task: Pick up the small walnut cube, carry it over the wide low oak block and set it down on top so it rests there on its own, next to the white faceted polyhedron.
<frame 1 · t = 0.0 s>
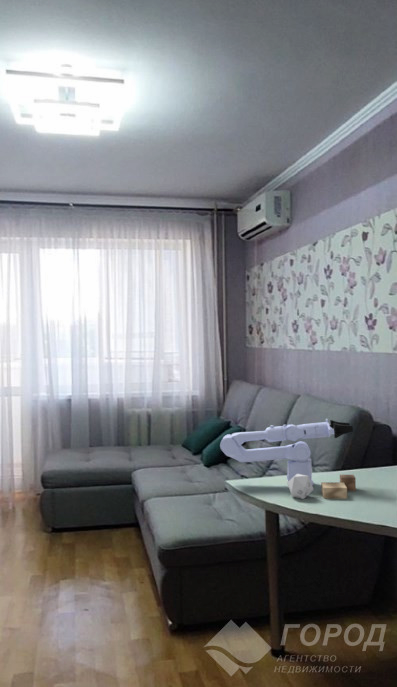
hand: (351, 427, 219), 22 cm above the table, tool horizontal, fingers open, 7 cm apart
walnut cube: (347, 489, 210), on the table
oak block: (334, 496, 202), on the table
white faceted polyhedron: (300, 497, 201), on the table
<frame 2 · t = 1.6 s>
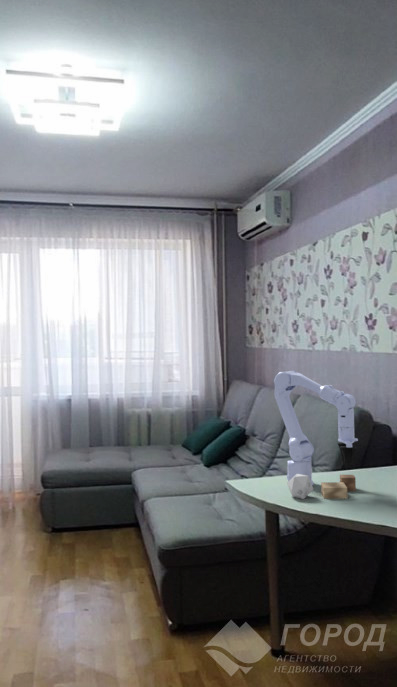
hand: (347, 463, 211), 9 cm above the table, tool pointing down, fingers open, 7 cm apart
nothing on the table moved.
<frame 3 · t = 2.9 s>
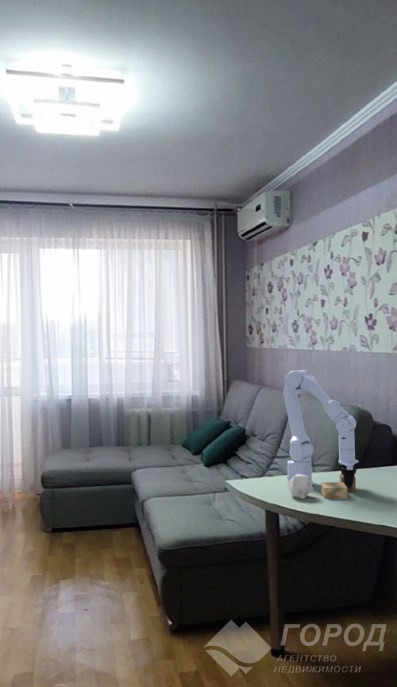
hand: (347, 485, 210), 1 cm above the table, tool pointing down, fingers closed on walnut cube, 5 cm apart
walnut cube: (347, 489, 210), on the table, touching gripper
everything else where it was.
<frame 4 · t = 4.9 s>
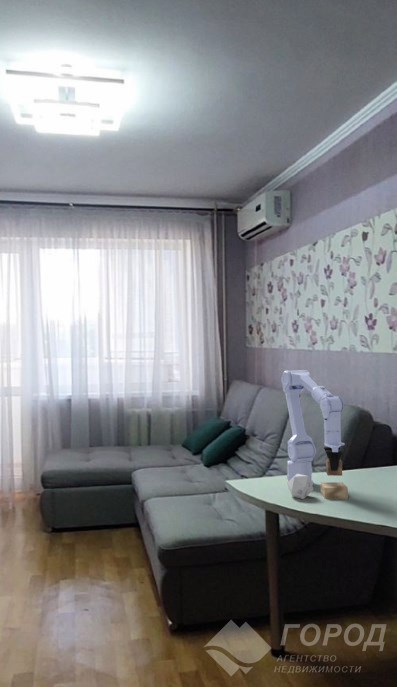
hand: (333, 468, 202), 9 cm above the table, tool pointing down, fingers closed on walnut cube, 5 cm apart
walnut cube: (334, 473, 202), point 8 cm above the table, touching gripper
everything else where it was.
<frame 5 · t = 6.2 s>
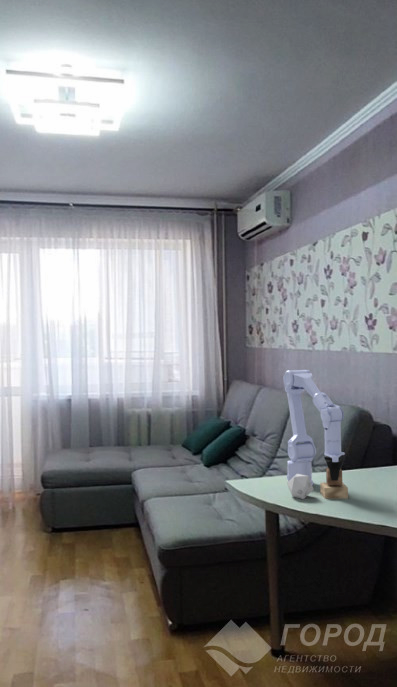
hand: (333, 478, 202), 6 cm above the table, tool pointing down, fingers closed on walnut cube, 5 cm apart
walnut cube: (334, 483, 202), point 4 cm above the table, touching gripper
everything else where it was.
when the fingers open (6 cm above the table, at t = 6.9 s): walnut cube stays where it is, point 4 cm above the table.
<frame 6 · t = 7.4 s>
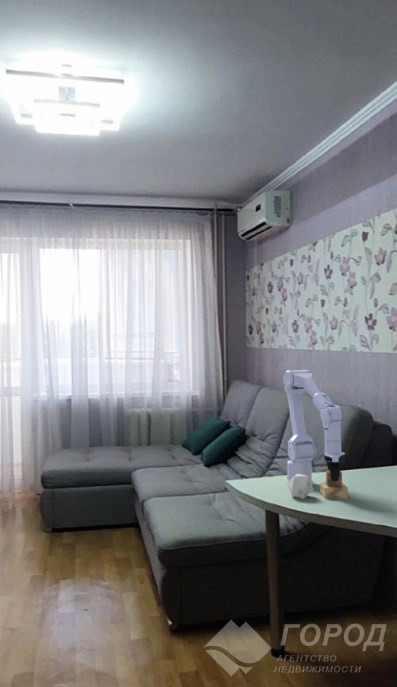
hand: (333, 478, 202), 6 cm above the table, tool pointing down, fingers open, 7 cm apart
walnut cube: (334, 485, 202), point 4 cm above the table
everything else where it was.
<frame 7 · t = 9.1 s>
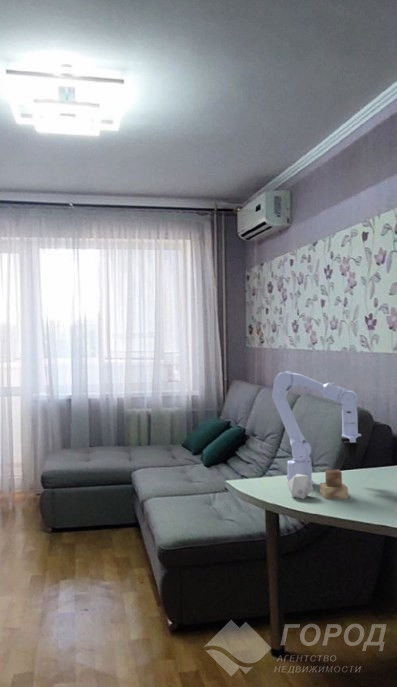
hand: (350, 458, 215), 10 cm above the table, tool pointing down, fingers open, 7 cm apart
walnut cube: (333, 485, 202), point 4 cm above the table, touching oak block
oak block: (333, 496, 202), on the table, touching walnut cube
everything else where it was.
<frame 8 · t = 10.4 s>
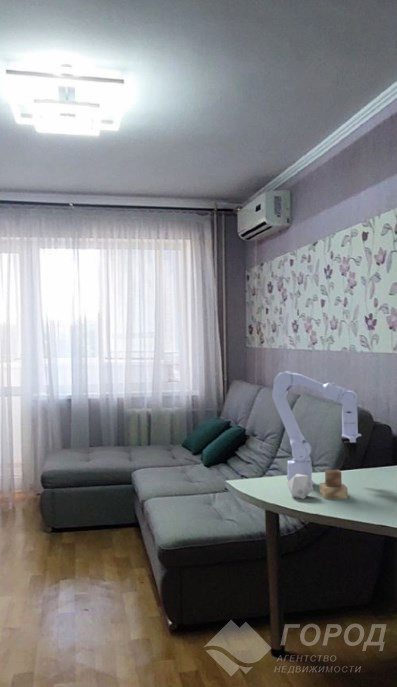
hand: (350, 458, 215), 10 cm above the table, tool pointing down, fingers open, 7 cm apart
nothing on the table moved.
at the end: walnut cube inside the target area on the oak block (0.2 cm from its centre), point 4.0 cm above the oak block's base; walnut cube touching oak block; the gripper is holding nothing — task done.
